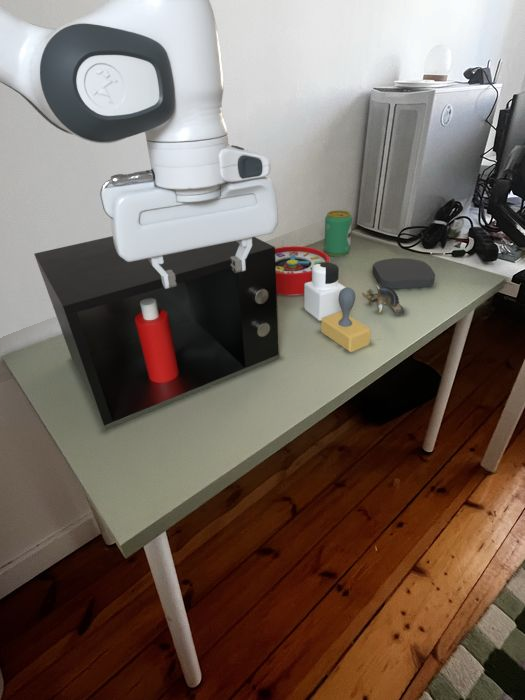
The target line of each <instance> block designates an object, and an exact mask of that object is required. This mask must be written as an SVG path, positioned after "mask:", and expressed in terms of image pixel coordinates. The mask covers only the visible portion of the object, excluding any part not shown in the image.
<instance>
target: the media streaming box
mask: <svg viewBox="0 0 525 700" xmlns="http://www.w3.org/2000/svg"><path fill="white" fill-rule="evenodd" d="M372 273H373V275H374V278H375V279H376V281H377V283H378V284H379V285H380V286H381V287H383V286H385V287H389V288H392V289H413V288H414V289H416V288H427V287H431V286H433V285H434V284H435V280H436V274H435V271H434V270H433V268H432V267H431V266H430V265H429V264H428V263H427V262H425V261H423V260H419V259H415V258H409V257H407V258H406V257H397V258H396V257H394V258H386V259H381V260H378V261H376V262H374V263H373V266H372Z"/></svg>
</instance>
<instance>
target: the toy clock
mask: <svg viewBox="0 0 525 700" xmlns="http://www.w3.org/2000/svg"><path fill="white" fill-rule="evenodd" d="M275 261H276V289H277V295H281V296H301V295H304V284H305V283H307V282H311V281H312V267H313V266H314V265H315V264H318V263H321V262H330V257H329V255H328V254H327V253H326V252H324V251H322V250H320V249H317V248H313V247H308V246H300V245H299V246H295V245H293V246H280V247H275Z"/></svg>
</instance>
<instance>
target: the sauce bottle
mask: <svg viewBox="0 0 525 700" xmlns="http://www.w3.org/2000/svg"><path fill="white" fill-rule="evenodd" d="M140 305H141V310H142V312H141V313H139V314H138V315H137V316H136V317H135V322H136V326H137V330H138V334H139V338H140V342H141V346H142V350H143V355H144V359H145V363H146V367H147V371H148V375H149V378H150V380H151V381H153V382H156V383H165V382H168V381H171V380H173V379H174V378H176V377H177V375H178V373H179V370H178V365H177V360H176V355H175V350H174V345H173V340H172V335H171V330H170V324H169V319H168V314H167V312H166V311H164V310H161V309H158V308H157V303H156V300H155V299H154V298H147V299H143V300H142V301H141V302H140Z"/></svg>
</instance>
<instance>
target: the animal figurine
mask: <svg viewBox="0 0 525 700" xmlns="http://www.w3.org/2000/svg"><path fill="white" fill-rule="evenodd" d="M375 287H376V288H377V293H374V291H373V290H372V289H371V288H369V290H367V291H366V293H364V292H362V296H363V297H365V298H366V299H367V300H368V304H369V305H370V306H372V304H374V303H377V306H378V314H381V312H382V311H383V308H384V307H383V306H384V305H387V306H389V307H390V308H391V309H392V310H393V311H394V312H395V315H397V316H399V315H400V316H404V315H405V312H406V311H405V309H404V307H403V306H402V305H401V304H400V301H399V300H400V298H399V296H398V293H397V292H396V291H395V289H394V288H389V287H385V286H381V287H379V285H378V284H375Z"/></svg>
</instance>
